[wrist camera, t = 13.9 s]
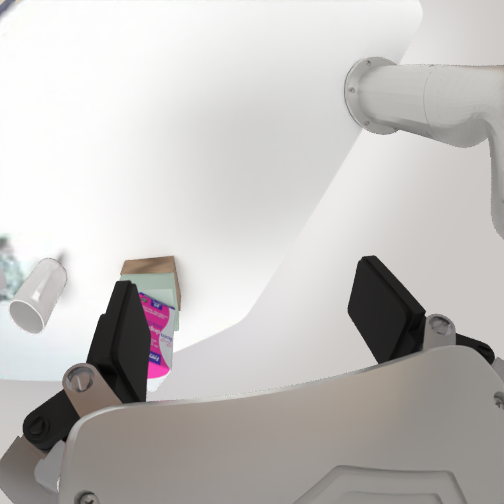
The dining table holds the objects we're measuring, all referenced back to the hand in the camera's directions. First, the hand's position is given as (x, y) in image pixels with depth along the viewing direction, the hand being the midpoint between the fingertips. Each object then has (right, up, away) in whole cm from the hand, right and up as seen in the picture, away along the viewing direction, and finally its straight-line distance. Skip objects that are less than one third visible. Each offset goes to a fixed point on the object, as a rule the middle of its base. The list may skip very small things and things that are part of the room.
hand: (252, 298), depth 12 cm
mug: (-34, -1, +29) cm, 45 cm away
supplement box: (-15, -7, +28) cm, 32 cm away
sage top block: (-16, -5, +31) cm, 35 cm away
